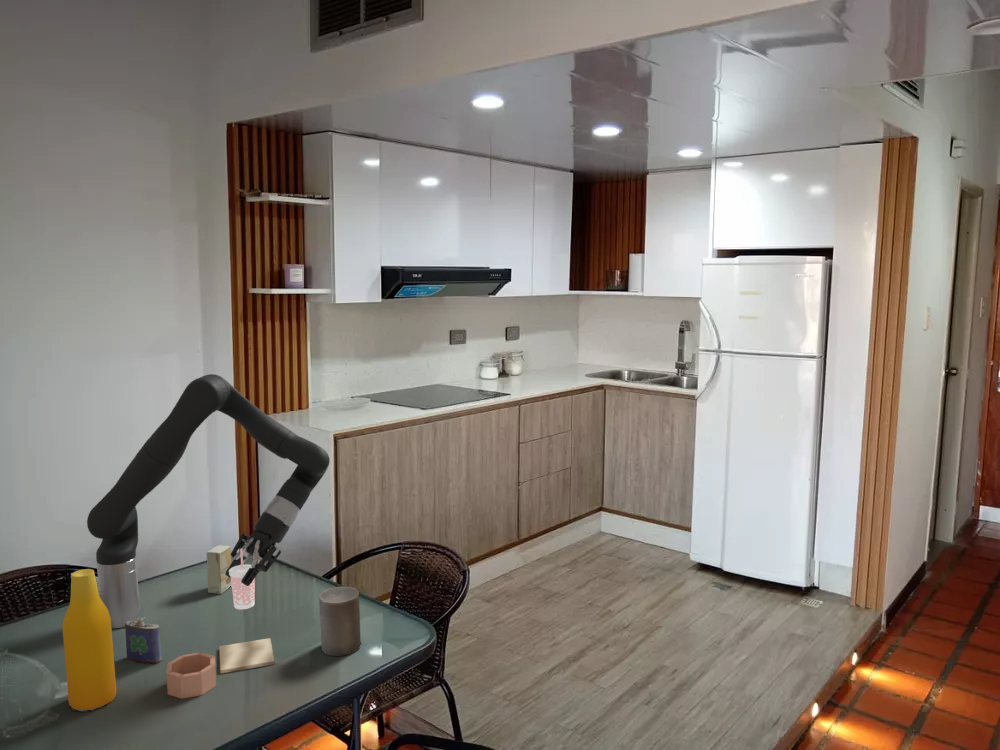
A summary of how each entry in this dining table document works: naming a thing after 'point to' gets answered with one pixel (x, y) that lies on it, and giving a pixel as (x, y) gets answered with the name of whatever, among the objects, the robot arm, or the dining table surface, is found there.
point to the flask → (143, 642)
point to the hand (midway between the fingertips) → (236, 580)
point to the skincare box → (218, 569)
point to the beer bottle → (88, 645)
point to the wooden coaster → (246, 655)
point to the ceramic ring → (191, 675)
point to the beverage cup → (242, 586)
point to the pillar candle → (340, 621)
